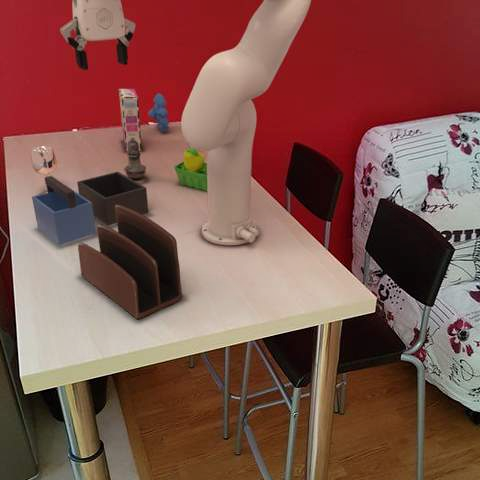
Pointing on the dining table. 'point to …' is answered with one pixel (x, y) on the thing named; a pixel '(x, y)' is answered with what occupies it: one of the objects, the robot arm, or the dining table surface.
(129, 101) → the candy bar box
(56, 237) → the blue tote
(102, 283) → the letter holder
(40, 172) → the wineglass
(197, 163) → the fruit basket
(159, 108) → the grapes
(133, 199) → the black tote
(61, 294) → the dining table surface
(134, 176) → the grey chess piece
